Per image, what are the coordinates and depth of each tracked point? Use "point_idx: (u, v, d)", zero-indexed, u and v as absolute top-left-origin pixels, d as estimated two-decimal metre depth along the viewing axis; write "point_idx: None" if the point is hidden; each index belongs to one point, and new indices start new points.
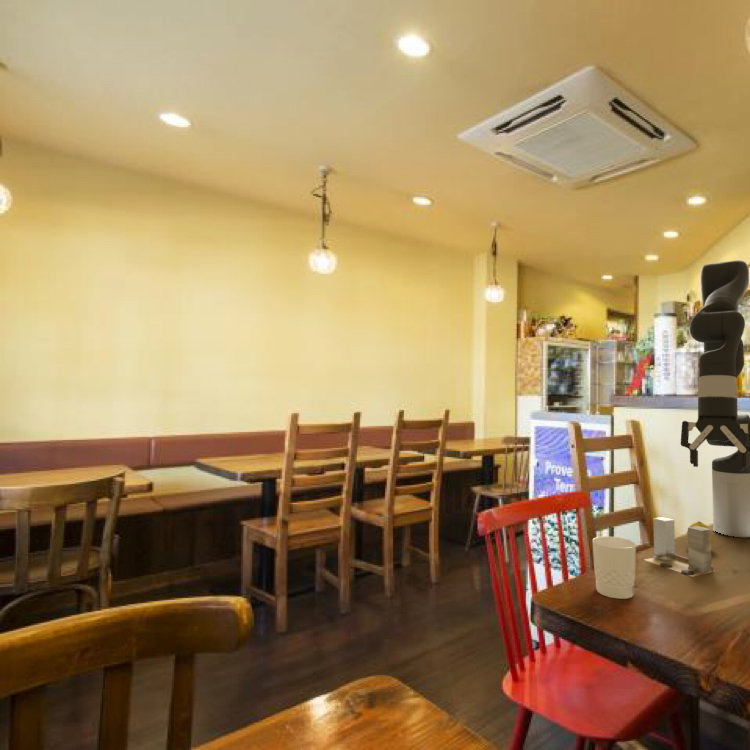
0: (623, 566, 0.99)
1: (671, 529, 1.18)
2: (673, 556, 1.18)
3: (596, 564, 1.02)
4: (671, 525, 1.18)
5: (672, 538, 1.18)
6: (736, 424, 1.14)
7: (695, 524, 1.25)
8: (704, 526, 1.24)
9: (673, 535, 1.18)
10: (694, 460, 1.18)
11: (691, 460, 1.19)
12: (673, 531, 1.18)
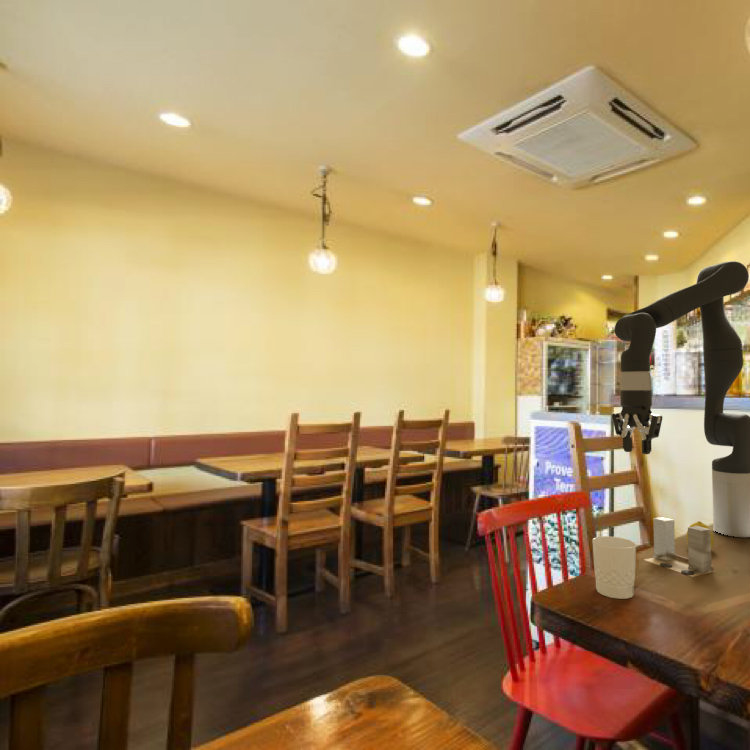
0: (623, 566, 0.99)
1: (671, 529, 1.18)
2: (673, 556, 1.18)
3: (596, 564, 1.02)
4: (671, 525, 1.18)
5: (672, 538, 1.18)
6: (645, 413, 1.33)
7: (695, 524, 1.25)
8: (704, 526, 1.24)
9: (673, 535, 1.18)
10: (624, 446, 1.39)
11: (623, 446, 1.40)
12: (673, 531, 1.18)
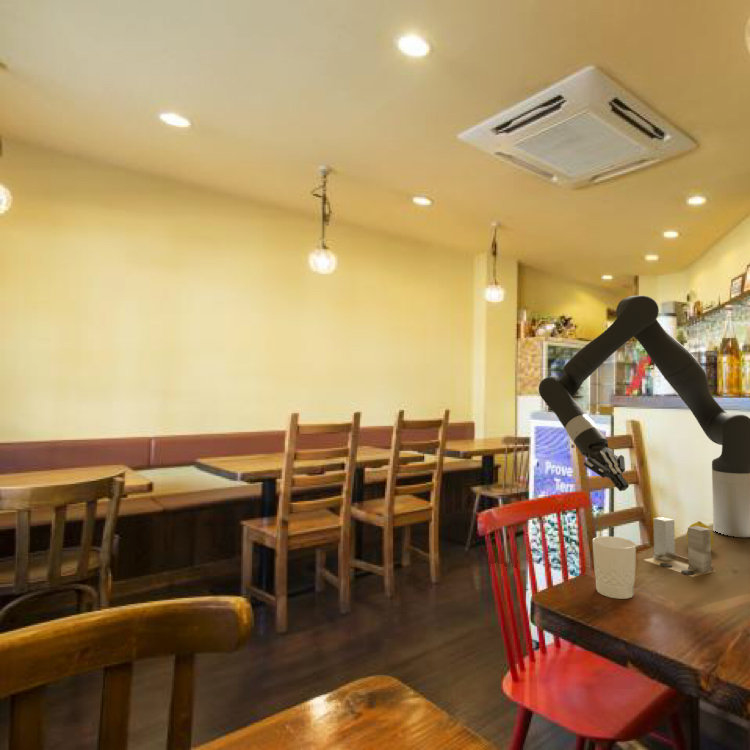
0: (623, 566, 0.99)
1: (671, 529, 1.18)
2: (673, 556, 1.18)
3: (596, 564, 1.02)
4: (671, 525, 1.18)
5: (672, 538, 1.18)
6: None
7: (695, 524, 1.25)
8: (704, 526, 1.24)
9: (673, 535, 1.18)
10: None
11: None
12: (673, 531, 1.18)
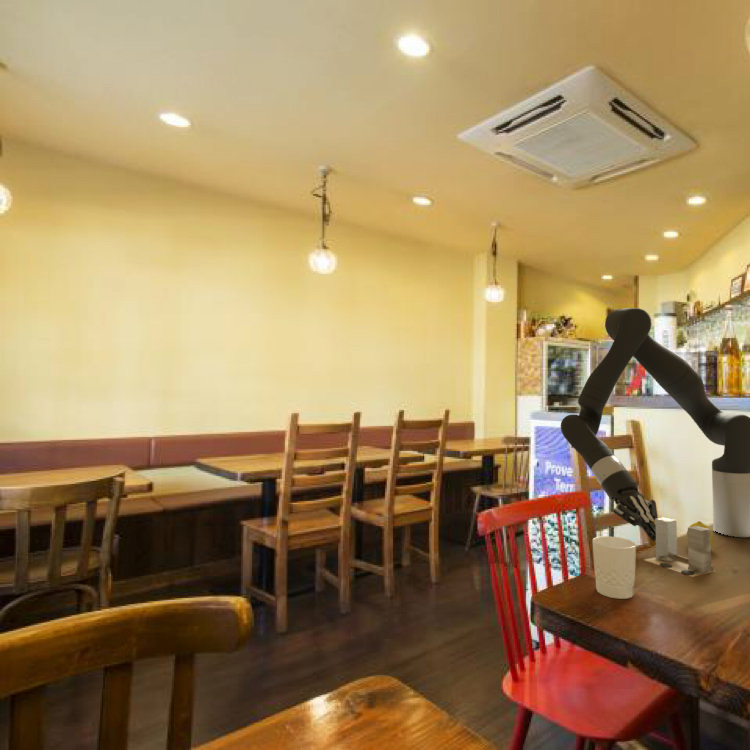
0: (623, 566, 0.99)
1: (673, 530, 1.17)
2: (675, 557, 1.17)
3: (596, 564, 1.02)
4: (673, 526, 1.17)
5: (674, 539, 1.17)
6: None
7: (695, 524, 1.25)
8: (704, 526, 1.24)
9: (675, 536, 1.17)
10: None
11: None
12: (675, 532, 1.17)
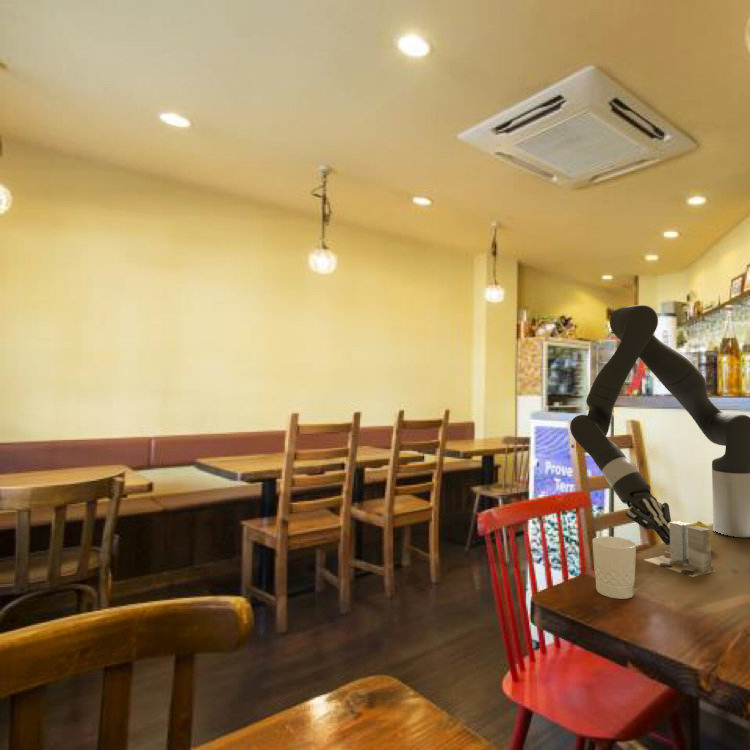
0: (623, 566, 0.99)
1: None
2: None
3: (596, 564, 1.02)
4: None
5: None
6: None
7: (695, 524, 1.25)
8: (704, 526, 1.24)
9: None
10: None
11: None
12: None
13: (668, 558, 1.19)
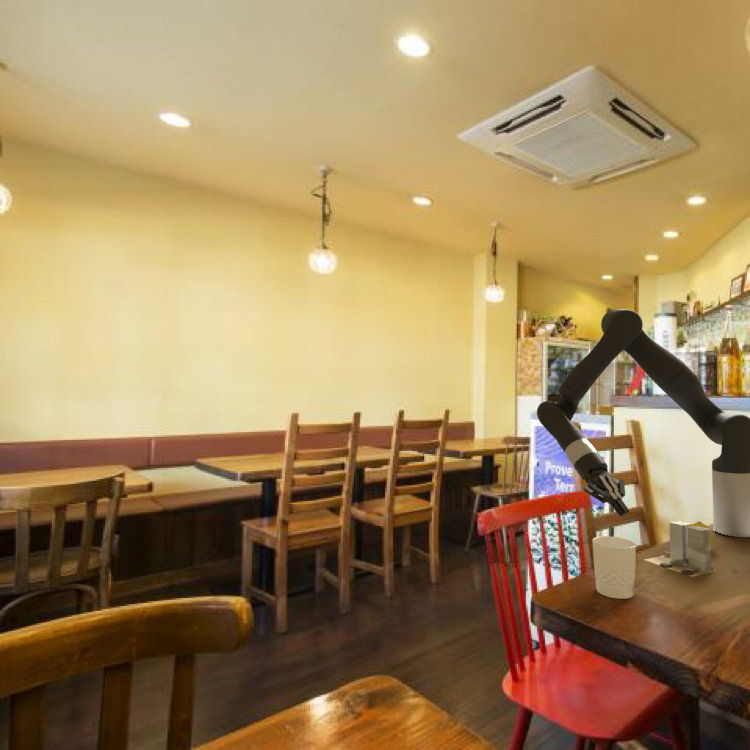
0: (623, 566, 0.99)
1: None
2: None
3: (596, 564, 1.02)
4: None
5: None
6: None
7: (695, 524, 1.25)
8: (704, 526, 1.24)
9: None
10: None
11: None
12: None
13: (668, 558, 1.19)
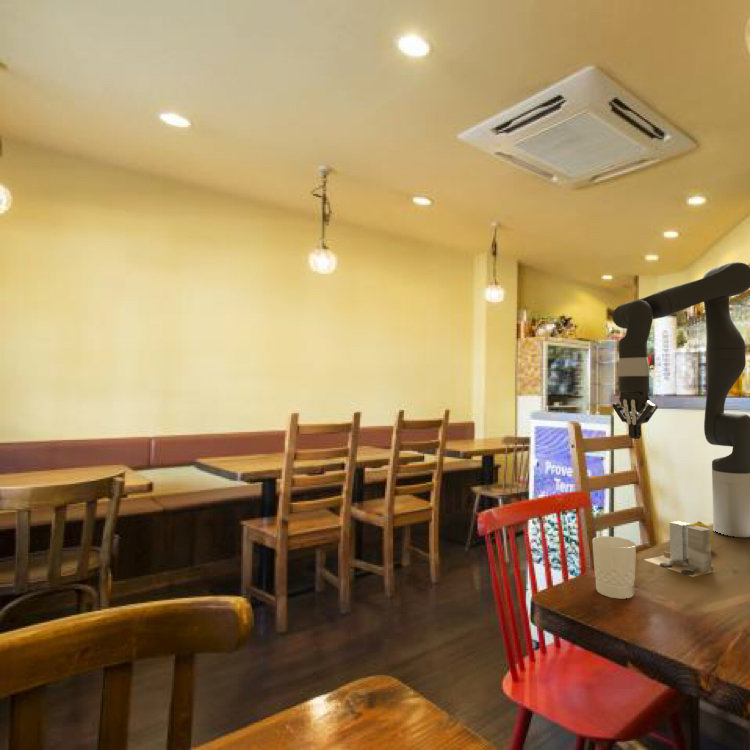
0: (623, 566, 0.99)
1: None
2: None
3: (596, 564, 1.02)
4: None
5: None
6: (643, 399, 1.36)
7: (695, 524, 1.25)
8: (704, 526, 1.24)
9: None
10: (630, 433, 1.40)
11: (629, 433, 1.41)
12: None
13: (668, 558, 1.19)
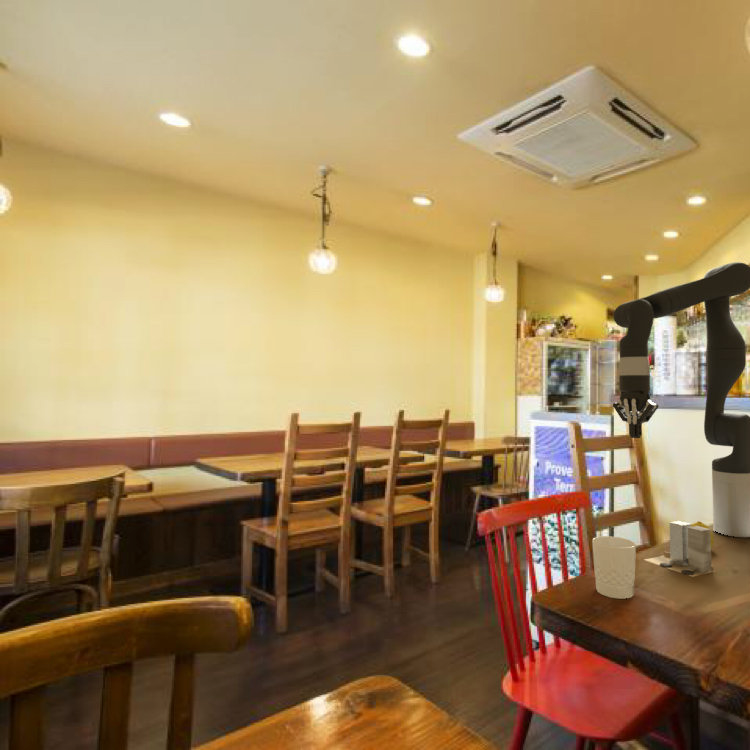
0: (623, 566, 0.99)
1: None
2: None
3: (596, 564, 1.02)
4: None
5: None
6: (643, 399, 1.36)
7: (695, 524, 1.25)
8: (704, 526, 1.24)
9: None
10: (630, 432, 1.40)
11: (629, 432, 1.40)
12: None
13: (668, 558, 1.19)
